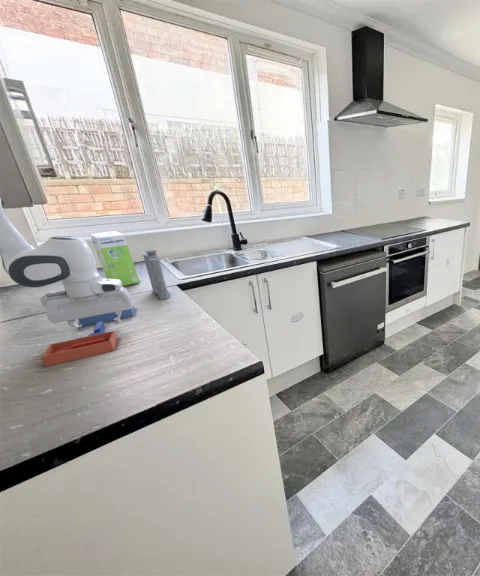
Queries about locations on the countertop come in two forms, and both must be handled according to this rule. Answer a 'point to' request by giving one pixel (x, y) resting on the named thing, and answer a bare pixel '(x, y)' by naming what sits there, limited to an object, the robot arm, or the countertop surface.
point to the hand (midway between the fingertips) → (99, 327)
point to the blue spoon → (98, 328)
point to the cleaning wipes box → (115, 257)
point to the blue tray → (105, 317)
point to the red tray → (81, 352)
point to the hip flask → (155, 274)
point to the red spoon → (81, 344)
